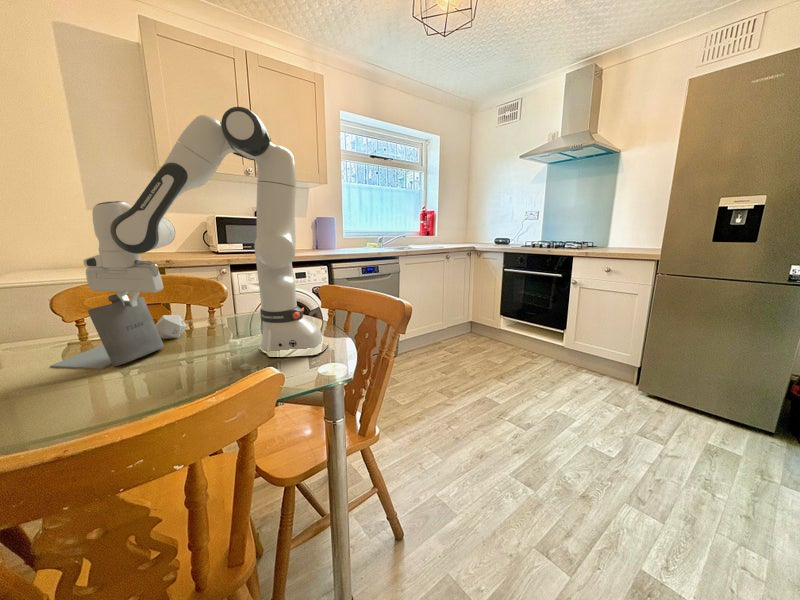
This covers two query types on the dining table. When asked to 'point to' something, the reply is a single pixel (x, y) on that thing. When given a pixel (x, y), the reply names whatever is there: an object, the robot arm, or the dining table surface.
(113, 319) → the grey flat lettered container
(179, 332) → the die
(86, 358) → the mat
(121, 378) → the dining table surface
